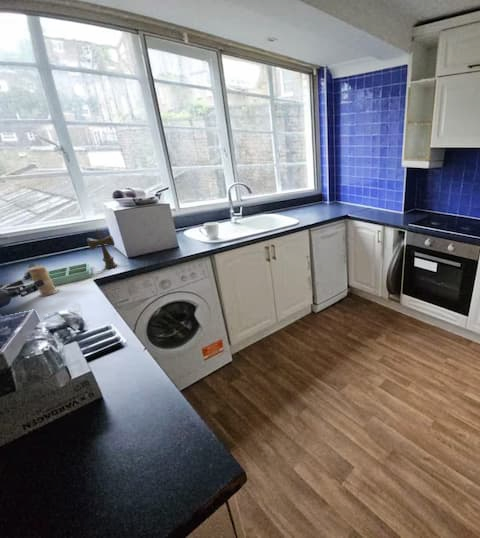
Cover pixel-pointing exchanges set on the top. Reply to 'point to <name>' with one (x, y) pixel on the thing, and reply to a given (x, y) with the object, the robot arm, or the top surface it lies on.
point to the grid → (70, 273)
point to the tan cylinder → (42, 274)
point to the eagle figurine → (28, 271)
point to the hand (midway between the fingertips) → (32, 282)
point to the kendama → (103, 249)
